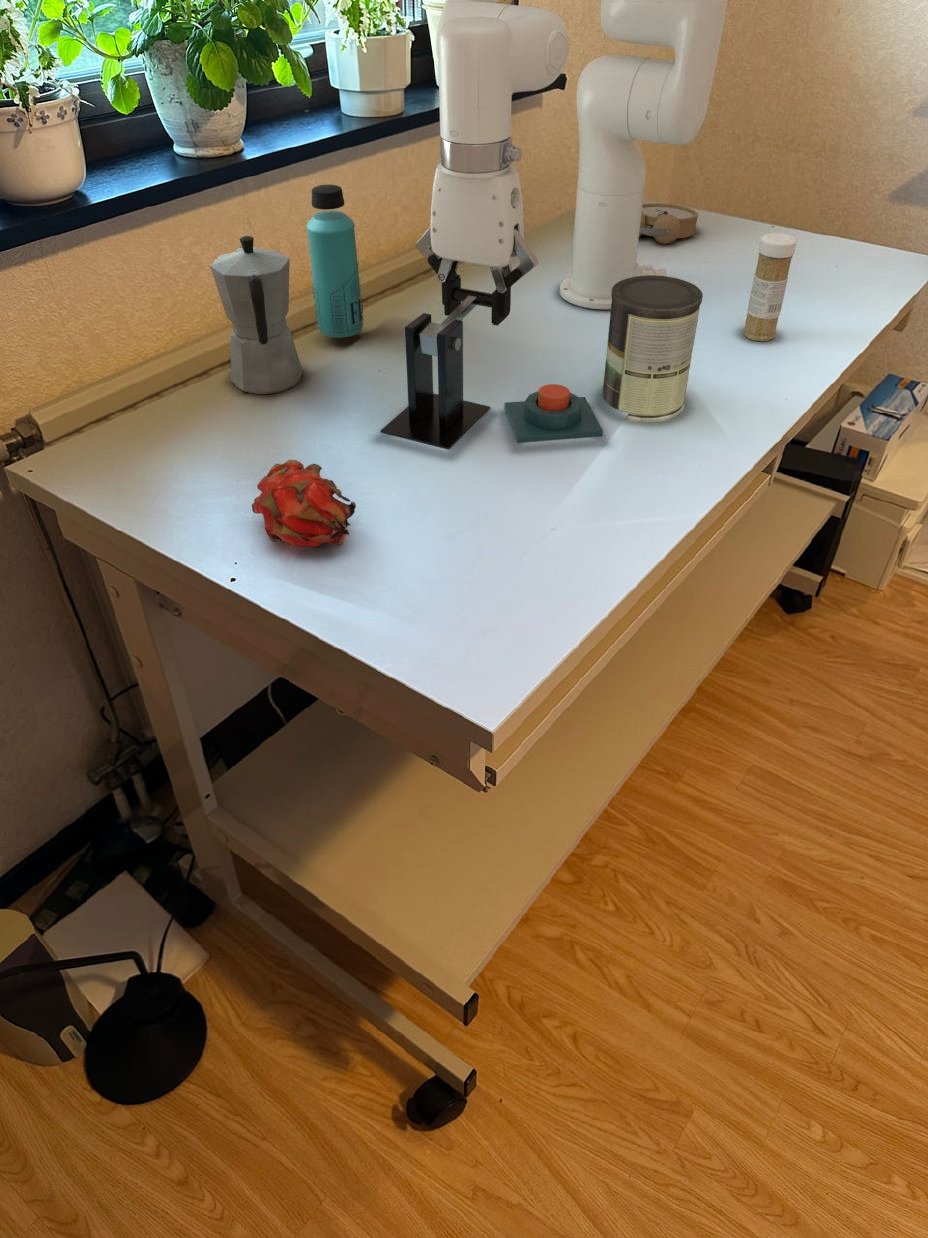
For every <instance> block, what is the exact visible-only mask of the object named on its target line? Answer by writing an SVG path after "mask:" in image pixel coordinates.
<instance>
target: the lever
mask: <svg viewBox="0 0 928 1238" xmlns="http://www.w3.org/2000/svg"><path fill="white" fill-rule="evenodd" d="M452 299H453V300H454V301H459V302H461V304H460V305H459V306H458V307H457V308H456V309H455V310H454V311H453V312H452V313H451V314H450V315H449V316H446V318H445V319H444V320H443V321H442V322H441V323H437V322H434V321H433V322H432V321H431V323H430V324H429V325H428V326H426V327H425V328H424V329H423V330H422V331H421V332H420V333H419V336H420V348H421V353H424V354H428V355H432V357H433V356H434V357H437V358H438V350H437V334H438V333H439V332H440V331H441V330H443V329H444V328H445V327H446V326H448V325H449V324H450V323H451V322H453V321H454V320H455V319H456V320H461V321H464V319H465V318H466V317H467V316H468V315H470V313H471V312H472V311H473V310H474V309H475V308H476V307H477V306H481V307H486V308H490V309H492V292H491V293H490V292H485V291H480V290H475V289H469V288H464V287H461V288H459V287H455V288H454V289H453V292H452Z"/></svg>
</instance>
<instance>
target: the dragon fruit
mask: <svg viewBox="0 0 928 1238" xmlns="http://www.w3.org/2000/svg"><path fill="white" fill-rule="evenodd" d="M322 469H323V467H322V466H321V465H320V464H317V463H311V464H309V465H306V467H304V464H303V463H302V462H301V461H300V460H296V459H288V460H286V461H285V462H284V463H275V464H273V465H272V467H271V468H270V470H269V472H268V473H267V474H266V475H264V476H263V477H262V478H261V479H260V480H259V482H258V483H257V485H256V488H257V490H258V491H260V494H259V495H258V496H257V497H255V498H254V499H253V503H252V504H251V509H252V512H253V513H254V514H261V515H262V517H263V520H264V530H265V533H266V535H267V536H268V538H269V540H270V541H272V542H281V540H282V541H283V542H286V543H288V544H290V545H292V546H293V547H296V546H299V547H300V546H301V547H313V548H314V547H319V546H321V545H322V544H324V543H326V544H337V545H342V544H343V542H344V541H345V538H346V537H347V536H350V532H349V530H348V529H347V528H348V527H349V526H351V525H352V523H349V521H348V519H350V518H351V517H353V515H354V514H355V512H356V511H355V509H356V508H357V503H356V502H355V501H351V499H349V498H347V497H346V496H343V495H342V494H343V493H342V490H341V489H339V488H338V487H337V485H336V484H335V482H334V480H332V479H328V478H324V477H323V478H322V477H321V470H322ZM333 495H336V496H337V497H338V498H340V499H341V500H343V501H345V502H350V504H348V503H345V502H343V501H340V499H338V498H336V497H335V496H333Z"/></svg>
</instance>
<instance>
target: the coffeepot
mask: <svg viewBox="0 0 928 1238" xmlns="http://www.w3.org/2000/svg"><path fill="white" fill-rule="evenodd" d="M254 240H255V237H253V236H252V235H251V236H250V235H244V236H240V238H239V243H240V246H241V247H237V249H236V250H235V251H232V252H228V253H225V254H219V256H217V258H216V259H215V260H214V261H213V262H212V263H211V264H210V265H209V267H210V271H211V273H212V276H213V279H214V280H213V281H214V283H215V284H216V289H217V292H218V294H219V298H220V301H221V304H222V307H223V310H224V313H225V316H226V318H227V319H228V321H230V322H231V327H232V332H231V334H230V382H231V383H232V384H233V385H234V386H235V387H236V388H237V389H239V390H240V391H243V392H245V393H249V394H257V395H268V394H275V393H280V392H284V391H287V390H289V389H291V388H294V387H295V386H296V385H297V384H298V383H299V382H300V380H301V378H302V375H303V373H304V371H303V368H302V367H303V366H302V364H301V361H300V358H299V355H298V351H297V348H296V345H295V342H294V338H293V334H292V331H291V329H290V328H289V326H288V325H287V318H286V317H287V315H288V313H289V306H290V304H289V303H290V260H291V259H290V258H289V257H287V256H286V255H284V254H283V253H281V252H279V251H277V250H275V249H260V248H259V247H256V246H254V243H255V241H254Z"/></svg>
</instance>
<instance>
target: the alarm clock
mask: <svg viewBox="0 0 928 1238" xmlns="http://www.w3.org/2000/svg"><path fill="white" fill-rule="evenodd" d="M698 217H699V213H698V212H697V211H696V210H695V209H692V208H690V207H688V206H687V207H686V206H683V205H682V206H681V205H677V204H671V203H662V202H661V203H660V202H659V203H658V202H656V203H655V202H654V203H653V202H652V203H651V202H650V203H649V202H648V203H643V205H642V214H641V222H640V231H639V238H640V237H641V236H642V235H645V236H649V237H653V238H654V239H655V240H656V242H658V243H660V244H663V245H668V244H671V243H673V242H674V241H675V240H677V239H681V238H682V239H683V238H689V237H692V236H694V235H695V234H696V227H697V223H698V222H697V221H698Z"/></svg>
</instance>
